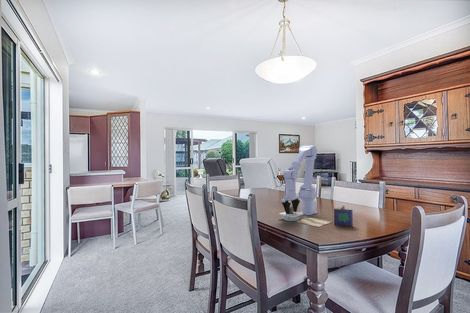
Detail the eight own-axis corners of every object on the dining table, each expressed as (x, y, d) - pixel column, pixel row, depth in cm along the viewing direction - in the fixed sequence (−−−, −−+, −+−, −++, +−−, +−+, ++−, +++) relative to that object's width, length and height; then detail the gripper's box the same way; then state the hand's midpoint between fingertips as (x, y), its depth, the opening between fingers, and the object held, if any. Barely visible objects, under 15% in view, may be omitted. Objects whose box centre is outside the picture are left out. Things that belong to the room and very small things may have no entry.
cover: (289, 211, 156) (289, 205, 156) (303, 214, 148) (303, 207, 148) (279, 214, 149) (278, 207, 149) (292, 217, 142) (292, 210, 142)
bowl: (290, 216, 155) (289, 212, 155) (302, 219, 148) (302, 214, 148) (280, 219, 149) (280, 214, 149) (292, 222, 142) (292, 217, 142)
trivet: (310, 217, 151) (310, 217, 151) (332, 222, 140) (332, 221, 140) (296, 222, 142) (296, 221, 142) (317, 227, 131) (317, 226, 131)
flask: (352, 225, 134) (352, 205, 134) (353, 227, 131) (353, 206, 131) (333, 224, 136) (333, 204, 136) (334, 225, 134) (334, 205, 133)
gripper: (293, 188, 156) (293, 209, 156) (277, 190, 147) (277, 213, 147) (302, 189, 151) (302, 211, 151) (286, 191, 142) (287, 215, 142)
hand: (291, 212), depth 149 cm, fingers open, 6 cm apart
